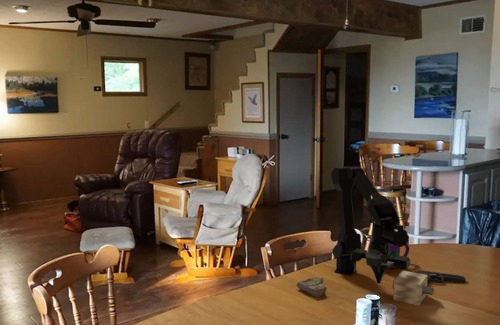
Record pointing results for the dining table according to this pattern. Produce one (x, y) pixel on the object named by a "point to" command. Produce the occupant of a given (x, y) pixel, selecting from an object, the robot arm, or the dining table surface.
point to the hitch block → (409, 287)
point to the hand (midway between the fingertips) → (378, 283)
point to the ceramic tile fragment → (312, 286)
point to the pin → (423, 289)
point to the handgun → (441, 277)
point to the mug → (396, 251)
